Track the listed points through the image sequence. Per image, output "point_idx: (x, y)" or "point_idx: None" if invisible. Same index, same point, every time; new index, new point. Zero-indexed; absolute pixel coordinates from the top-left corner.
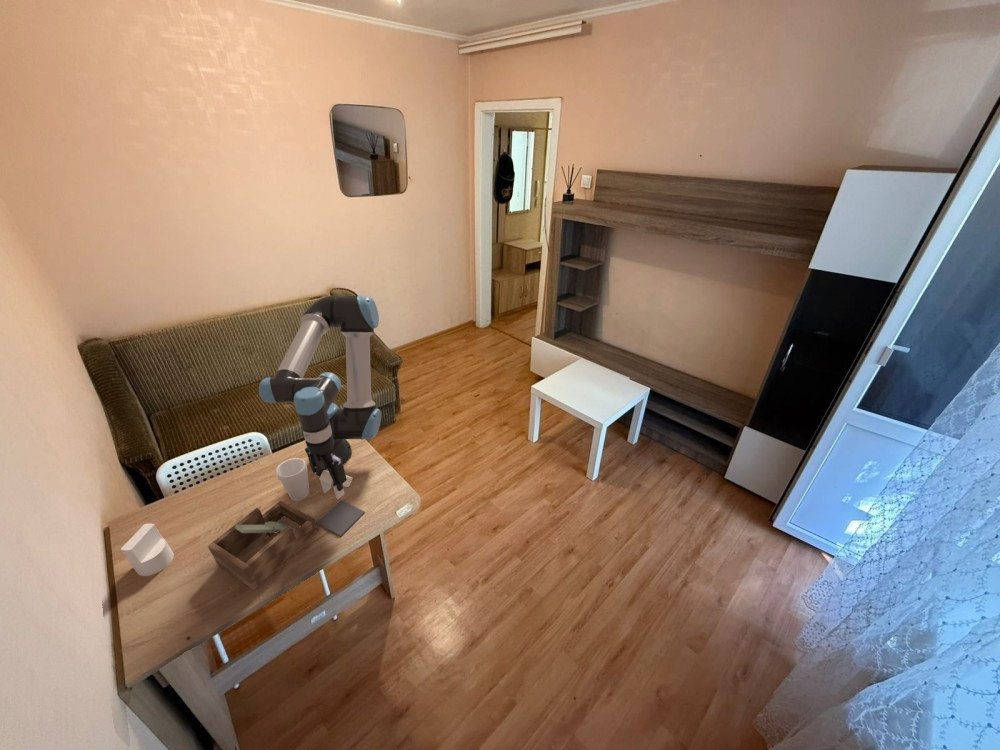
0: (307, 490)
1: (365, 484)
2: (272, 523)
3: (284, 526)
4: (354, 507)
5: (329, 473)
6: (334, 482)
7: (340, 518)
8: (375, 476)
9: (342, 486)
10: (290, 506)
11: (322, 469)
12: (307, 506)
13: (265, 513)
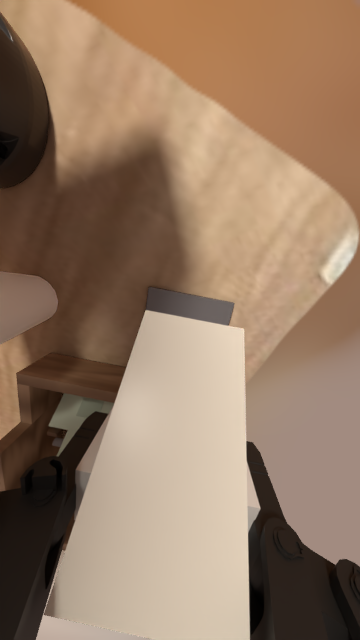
0: (45, 296)
1: (178, 202)
2: (62, 423)
3: (89, 406)
4: (200, 299)
5: (160, 636)
6: (251, 592)
7: None
8: (191, 152)
9: (263, 472)
10: (57, 382)
11: (29, 627)
12: (84, 326)
13: (22, 412)
